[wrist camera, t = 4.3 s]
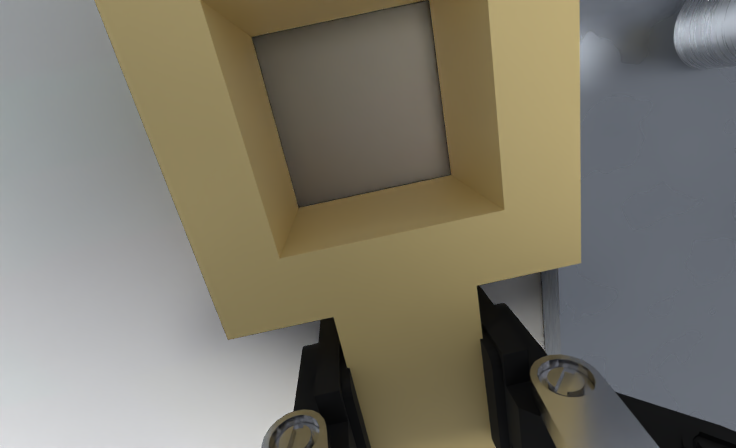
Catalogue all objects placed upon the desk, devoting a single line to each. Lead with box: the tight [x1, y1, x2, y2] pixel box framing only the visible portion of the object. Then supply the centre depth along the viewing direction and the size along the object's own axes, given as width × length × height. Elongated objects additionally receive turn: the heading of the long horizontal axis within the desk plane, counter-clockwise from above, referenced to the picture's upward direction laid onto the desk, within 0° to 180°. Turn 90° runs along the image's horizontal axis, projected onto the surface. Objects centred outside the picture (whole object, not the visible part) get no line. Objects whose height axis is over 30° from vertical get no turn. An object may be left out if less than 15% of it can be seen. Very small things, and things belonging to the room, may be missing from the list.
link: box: [94, 0, 581, 448], centre depth 10 cm, size 18×7×4 cm, turn 11°
